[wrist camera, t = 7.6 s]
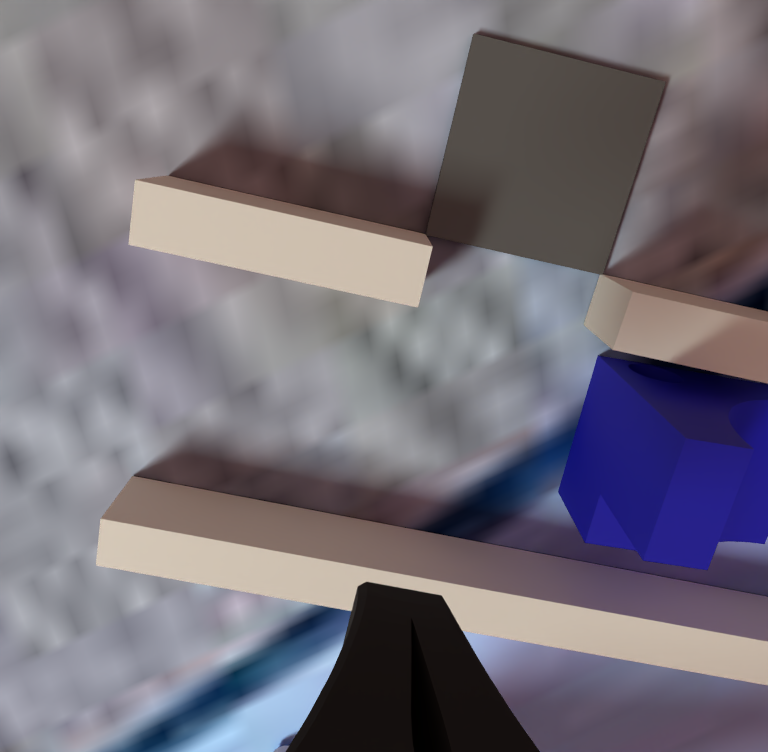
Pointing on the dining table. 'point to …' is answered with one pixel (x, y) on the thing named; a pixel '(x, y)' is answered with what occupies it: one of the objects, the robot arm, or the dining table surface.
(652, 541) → the cable clip
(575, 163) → the mat
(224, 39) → the dining table surface
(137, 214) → the lane
